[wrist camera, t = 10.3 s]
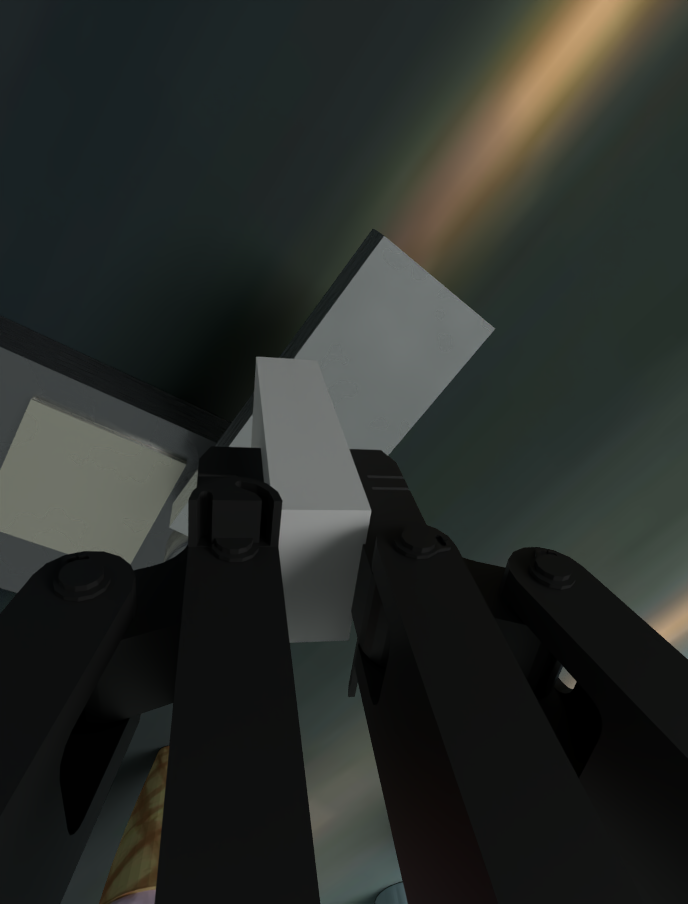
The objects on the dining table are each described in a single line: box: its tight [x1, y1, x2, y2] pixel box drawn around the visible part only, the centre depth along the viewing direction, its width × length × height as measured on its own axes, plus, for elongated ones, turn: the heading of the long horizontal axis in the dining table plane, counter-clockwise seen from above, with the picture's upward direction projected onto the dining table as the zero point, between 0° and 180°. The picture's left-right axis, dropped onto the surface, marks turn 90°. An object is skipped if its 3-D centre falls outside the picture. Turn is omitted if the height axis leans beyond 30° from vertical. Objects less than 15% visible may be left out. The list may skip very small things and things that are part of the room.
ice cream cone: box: [99, 746, 169, 904], centre depth 35 cm, size 7×6×15 cm
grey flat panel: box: [163, 229, 495, 562], centre depth 24 cm, size 6×18×2 cm, turn 142°
